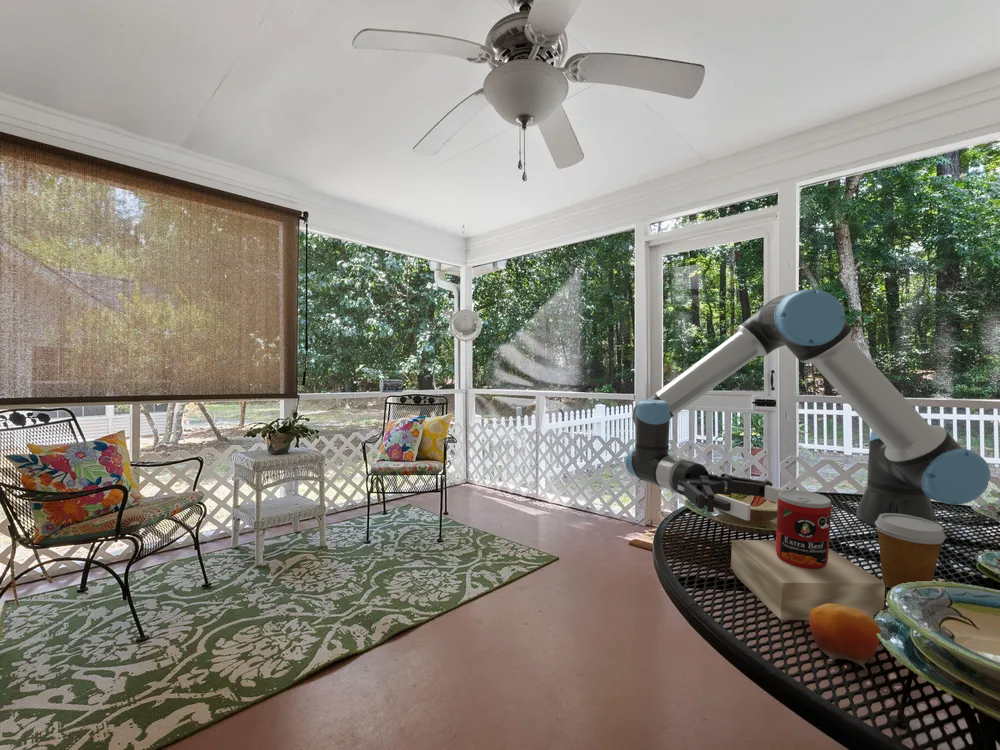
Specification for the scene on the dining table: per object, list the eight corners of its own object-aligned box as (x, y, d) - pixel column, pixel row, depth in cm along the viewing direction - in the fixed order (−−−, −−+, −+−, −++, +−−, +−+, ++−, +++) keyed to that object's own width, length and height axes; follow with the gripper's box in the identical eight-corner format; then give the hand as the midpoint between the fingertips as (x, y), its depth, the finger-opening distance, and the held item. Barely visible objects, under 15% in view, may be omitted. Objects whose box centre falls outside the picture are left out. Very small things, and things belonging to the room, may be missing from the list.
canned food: (776, 563, 80) (779, 499, 80) (774, 546, 88) (777, 486, 87) (831, 574, 77) (835, 507, 76) (824, 554, 84) (828, 493, 83)
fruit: (820, 662, 62) (815, 596, 66) (806, 660, 69) (802, 600, 72) (896, 678, 60) (887, 608, 63) (874, 675, 66) (867, 611, 70)
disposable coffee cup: (922, 607, 78) (927, 536, 78) (859, 581, 87) (863, 516, 86) (953, 595, 82) (959, 527, 81) (890, 571, 91) (894, 509, 90)
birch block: (815, 571, 91) (816, 540, 90) (882, 620, 75) (885, 583, 74) (730, 570, 90) (732, 539, 90) (780, 619, 75) (782, 582, 74)
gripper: (722, 486, 111) (816, 517, 92) (638, 501, 100) (724, 539, 81) (723, 454, 110) (818, 478, 91) (639, 465, 100) (726, 495, 80)
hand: (774, 507), depth 86 cm, fingers open, 13 cm apart
